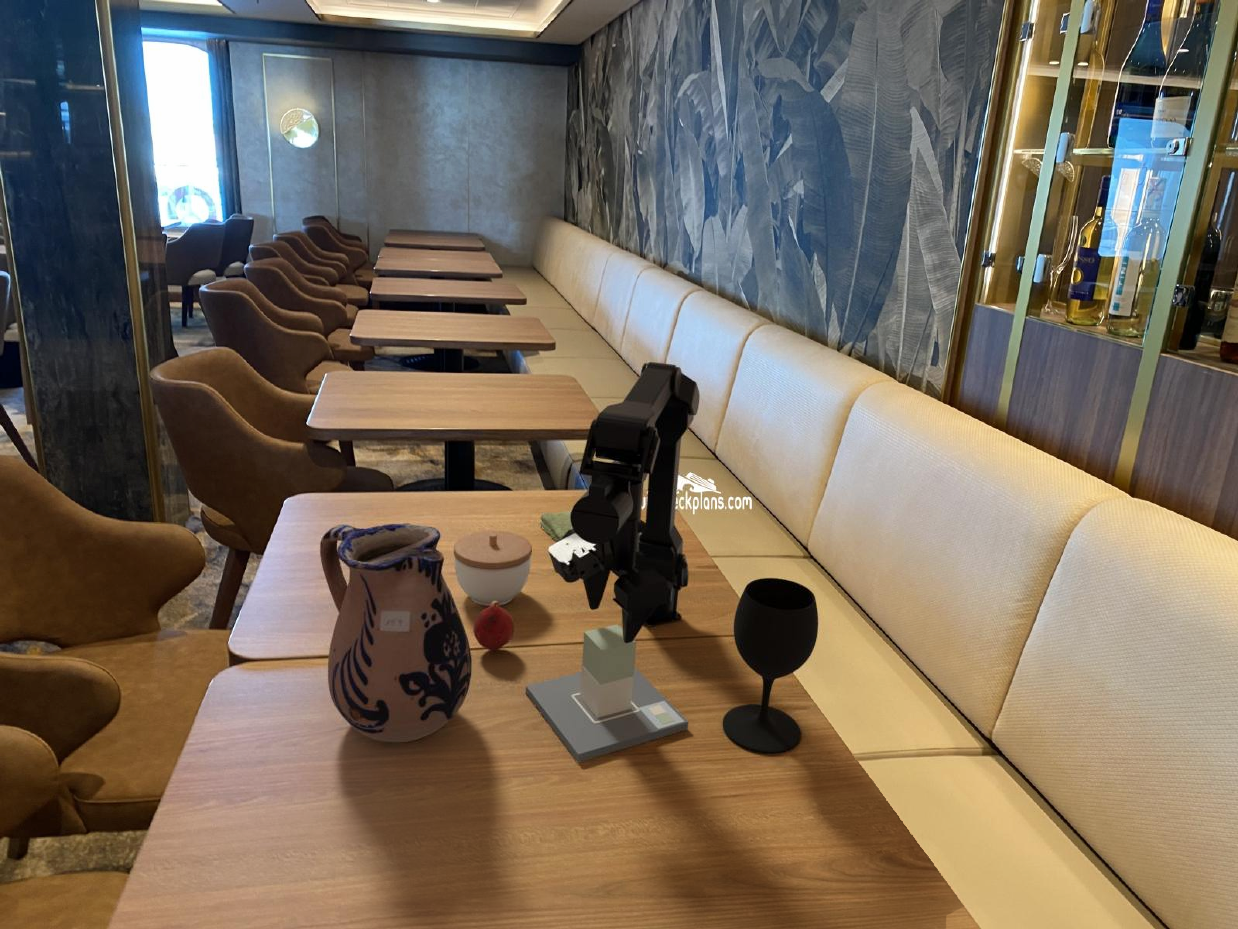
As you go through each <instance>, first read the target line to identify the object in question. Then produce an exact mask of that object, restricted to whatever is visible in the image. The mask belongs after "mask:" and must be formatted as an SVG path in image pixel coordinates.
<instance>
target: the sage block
mask: <svg viewBox="0 0 1238 929" xmlns="http://www.w3.org/2000/svg"><path fill="white" fill-rule="evenodd" d="M636 650H637V641H636V640H635V639H634V640H633V641H632V642H630V643H625V642H624V639H623V627H621V626H620V625H619V624H612V625H608V626H604V627H599V628H595V629H594V628H593V629H591V630H587V631H585V630H584V631H583V644H582V661H581V662H582V664H581V666H582V665H583V667H584V668H585V669H586V670H587V671H588V672H589V673H590V674H591V676H592V677H593V678H594V679H595V680H596V681H597V682H598V683H599V684H600V685H601V684H605V683H609V682H613V681H617V680H620V679H624V678H628V677H632V676H634V667H635V664H636Z"/></svg>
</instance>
